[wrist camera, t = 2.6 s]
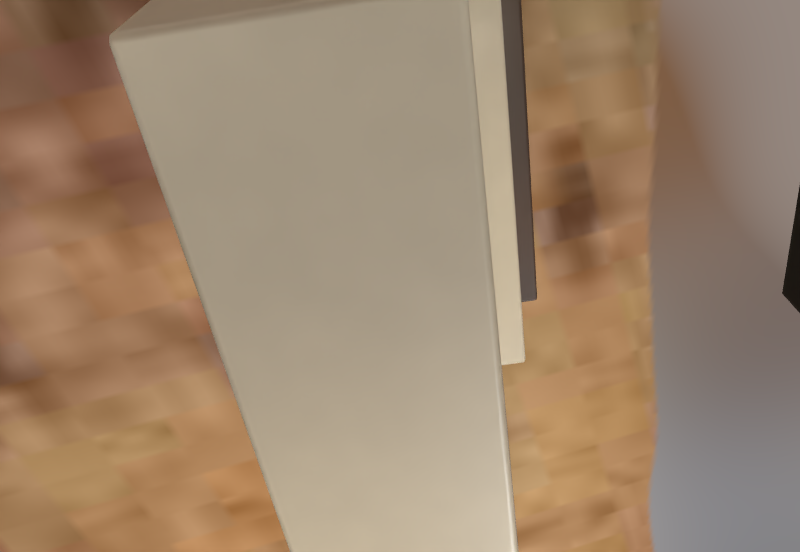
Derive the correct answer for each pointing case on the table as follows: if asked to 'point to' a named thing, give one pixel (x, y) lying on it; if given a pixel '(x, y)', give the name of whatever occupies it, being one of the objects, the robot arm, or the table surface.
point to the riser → (519, 144)
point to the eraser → (348, 250)
